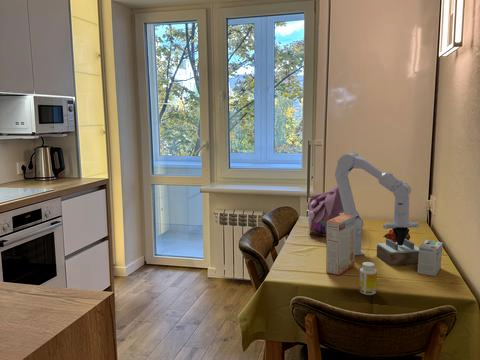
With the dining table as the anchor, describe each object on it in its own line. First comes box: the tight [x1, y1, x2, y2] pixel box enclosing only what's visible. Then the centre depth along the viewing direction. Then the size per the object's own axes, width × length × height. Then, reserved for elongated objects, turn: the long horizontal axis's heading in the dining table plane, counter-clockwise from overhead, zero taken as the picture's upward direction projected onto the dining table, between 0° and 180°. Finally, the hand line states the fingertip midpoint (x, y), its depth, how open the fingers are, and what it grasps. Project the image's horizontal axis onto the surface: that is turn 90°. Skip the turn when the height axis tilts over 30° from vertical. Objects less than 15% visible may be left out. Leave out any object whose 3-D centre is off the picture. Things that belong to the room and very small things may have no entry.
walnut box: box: [376, 244, 419, 267], centre depth 181 cm, size 14×12×5 cm
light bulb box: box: [417, 239, 444, 277], centre depth 168 cm, size 11×7×11 cm, turn 145°
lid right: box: [395, 239, 419, 253], centre depth 181 cm, size 7×12×3 cm, turn 8°
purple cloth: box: [307, 184, 344, 237], centre depth 225 cm, size 35×24×28 cm
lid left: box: [377, 238, 407, 253], centre depth 180 cm, size 7×12×3 cm, turn 8°
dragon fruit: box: [383, 229, 411, 242], centre depth 203 cm, size 8×8×12 cm
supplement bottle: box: [359, 261, 378, 296], centre depth 148 cm, size 6×6×10 cm
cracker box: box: [325, 213, 356, 276], centre depth 170 cm, size 14×6×21 cm, turn 141°
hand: (399, 244), depth 180 cm, fingers closed
